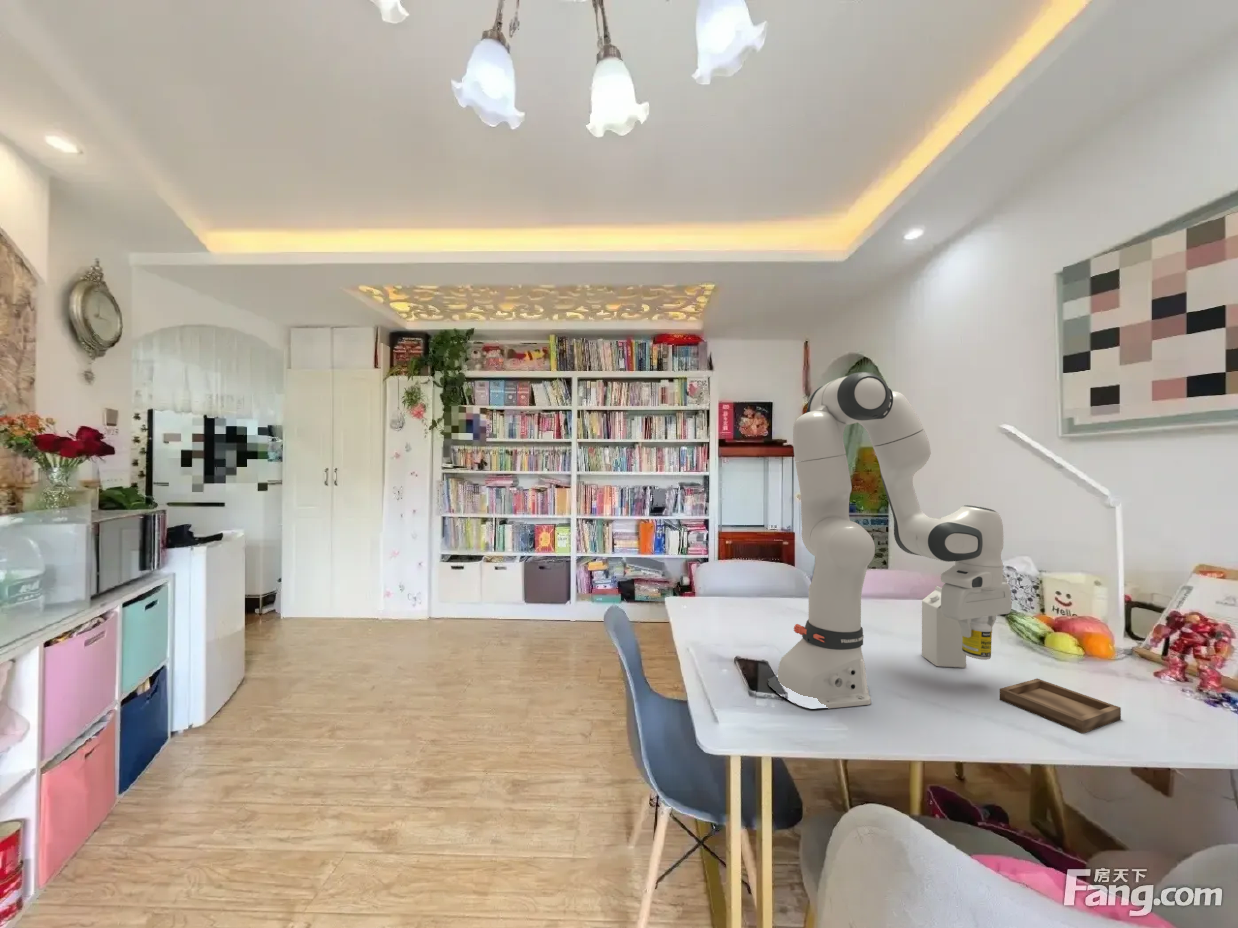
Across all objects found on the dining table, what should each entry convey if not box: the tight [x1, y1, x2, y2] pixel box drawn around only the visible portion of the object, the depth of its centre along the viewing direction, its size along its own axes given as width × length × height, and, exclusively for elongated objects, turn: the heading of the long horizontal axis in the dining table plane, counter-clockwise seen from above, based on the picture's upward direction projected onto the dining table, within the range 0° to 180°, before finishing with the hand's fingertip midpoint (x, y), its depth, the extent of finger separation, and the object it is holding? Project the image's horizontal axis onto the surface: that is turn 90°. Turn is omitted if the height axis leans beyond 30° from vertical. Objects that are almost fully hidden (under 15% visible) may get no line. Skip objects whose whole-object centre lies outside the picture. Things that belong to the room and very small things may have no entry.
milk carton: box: [921, 585, 967, 669], centre depth 123 cm, size 7×7×19 cm
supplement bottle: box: [962, 616, 993, 661], centre depth 109 cm, size 5×5×10 cm
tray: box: [999, 678, 1122, 734], centre depth 99 cm, size 14×14×2 cm
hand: (976, 634), depth 109 cm, fingers closed on supplement bottle, 5 cm apart
